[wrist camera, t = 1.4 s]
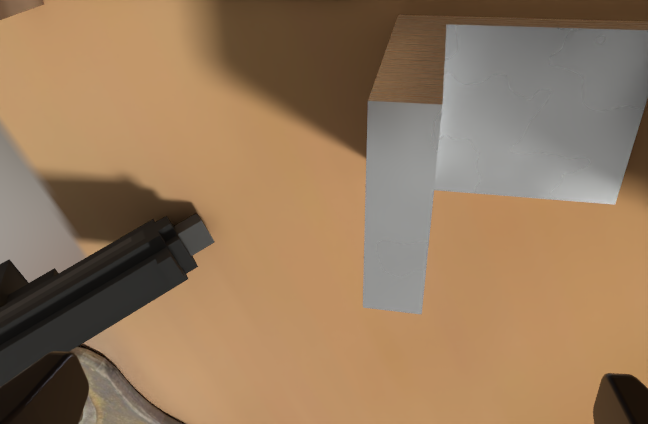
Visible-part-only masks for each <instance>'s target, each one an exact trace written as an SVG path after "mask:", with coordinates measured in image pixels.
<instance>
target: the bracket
mask: <svg viewBox="0 0 648 424" xmlns="http://www.w3.org/2000/svg"><path fill="white" fill-rule="evenodd" d="M647 99H648V21H617V20H579V19H542V18H504V17H466V16H429V15H398V17H397V20H396V23H395V26H394V28H393V31H392V34H391V37H390V40H389V43H388V45H387V48H386V51H385V54H384V57H383V59H382V62H381V65H380V68H379V71H378V74H377V76H376V79H375V82H374V85H373V88H372V90H371V93H370V96H369V99H368V116H367V158H366V200H365V242H364V284H363V307H364V308H372V309H381V310H389V311H397V312H406V313H414V314H422V305H423V295H424V285H425V275H426V265H427V255H428V245H429V235H430V225H431V215H432V205H433V195H434V190H440V191H453V192H465V193H478V194H490V195H503V196H515V197H528V198H540V199H553V200H565V201H578V202H590V203H603V204H615V203H616V200H617V196H618V193H619V190H620V187H621V183H622V180H623V177H624V174H625V170H626V167H627V164H628V161H629V157H630V154H631V151H632V148H633V144H634V141H635V138H636V135H637V131H638V128H639V125H640V122H641V118H642V115H643V112H644V109H645V105H646V102H647Z"/></svg>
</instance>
